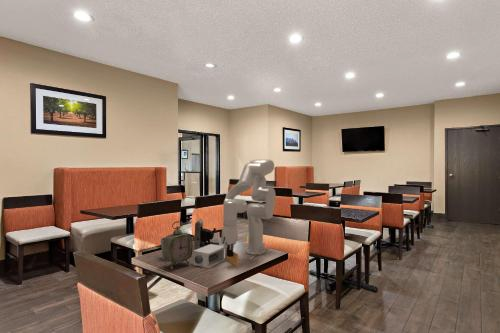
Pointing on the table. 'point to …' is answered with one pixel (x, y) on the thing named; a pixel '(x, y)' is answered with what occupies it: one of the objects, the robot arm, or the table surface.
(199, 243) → the vintage camera
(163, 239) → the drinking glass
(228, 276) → the table surface
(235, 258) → the side door
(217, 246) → the camera housing
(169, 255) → the tabletop clock
